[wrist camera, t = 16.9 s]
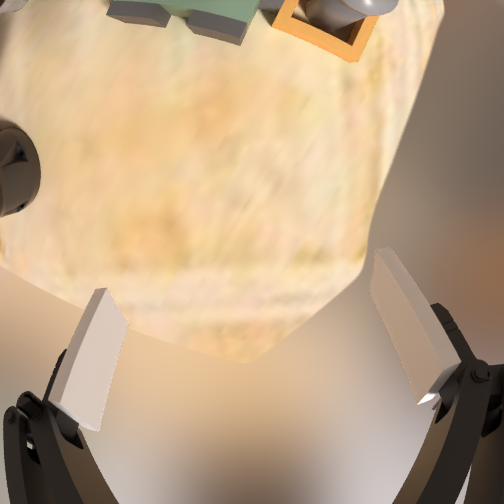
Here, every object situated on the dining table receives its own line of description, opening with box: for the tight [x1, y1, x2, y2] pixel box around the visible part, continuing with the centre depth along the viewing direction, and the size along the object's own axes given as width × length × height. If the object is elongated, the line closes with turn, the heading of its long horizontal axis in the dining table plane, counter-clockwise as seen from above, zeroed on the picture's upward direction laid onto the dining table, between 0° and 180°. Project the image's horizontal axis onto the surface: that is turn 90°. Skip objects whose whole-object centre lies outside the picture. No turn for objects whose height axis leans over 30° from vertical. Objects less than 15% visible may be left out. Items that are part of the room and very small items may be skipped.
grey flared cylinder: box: [305, 0, 398, 31], centre depth 18 cm, size 6×6×13 cm
